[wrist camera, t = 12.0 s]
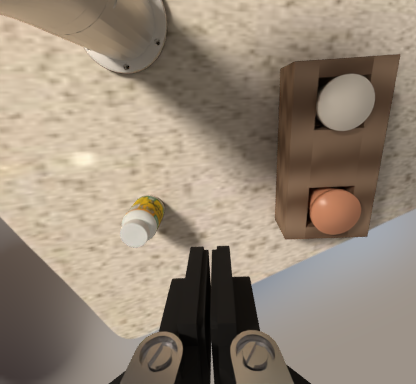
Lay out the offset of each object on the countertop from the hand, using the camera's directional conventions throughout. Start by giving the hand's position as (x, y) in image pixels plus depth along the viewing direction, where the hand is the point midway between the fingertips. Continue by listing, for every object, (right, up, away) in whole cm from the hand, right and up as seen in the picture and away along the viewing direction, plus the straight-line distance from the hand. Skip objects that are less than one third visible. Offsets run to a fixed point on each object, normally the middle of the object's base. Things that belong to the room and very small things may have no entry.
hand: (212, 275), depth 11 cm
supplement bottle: (-10, +1, +33) cm, 35 cm away
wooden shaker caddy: (+17, +10, +29) cm, 35 cm away
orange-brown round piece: (+17, +3, +28) cm, 33 cm away
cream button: (+17, +16, +24) cm, 33 cm away
